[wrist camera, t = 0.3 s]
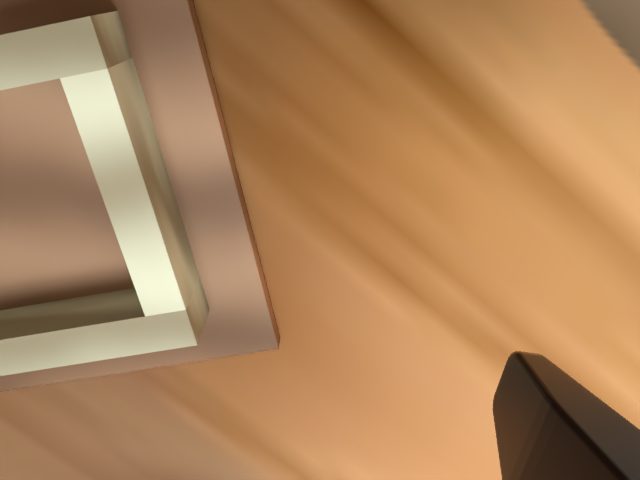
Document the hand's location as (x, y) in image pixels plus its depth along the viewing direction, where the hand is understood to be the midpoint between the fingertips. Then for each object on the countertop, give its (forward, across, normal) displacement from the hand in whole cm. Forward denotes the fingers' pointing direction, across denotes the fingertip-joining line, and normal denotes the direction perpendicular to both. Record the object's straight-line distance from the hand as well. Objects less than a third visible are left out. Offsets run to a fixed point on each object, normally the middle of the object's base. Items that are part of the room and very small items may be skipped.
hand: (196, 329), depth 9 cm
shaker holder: (+14, +9, +5) cm, 18 cm away
